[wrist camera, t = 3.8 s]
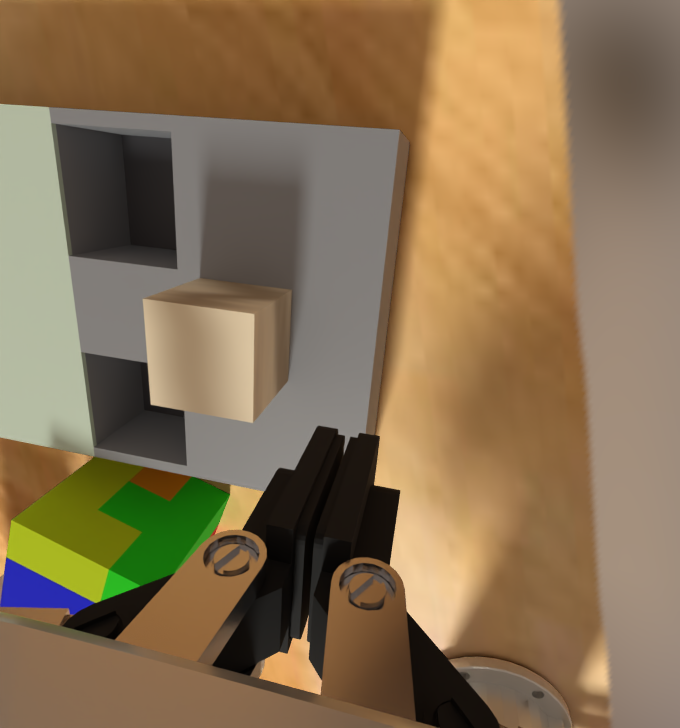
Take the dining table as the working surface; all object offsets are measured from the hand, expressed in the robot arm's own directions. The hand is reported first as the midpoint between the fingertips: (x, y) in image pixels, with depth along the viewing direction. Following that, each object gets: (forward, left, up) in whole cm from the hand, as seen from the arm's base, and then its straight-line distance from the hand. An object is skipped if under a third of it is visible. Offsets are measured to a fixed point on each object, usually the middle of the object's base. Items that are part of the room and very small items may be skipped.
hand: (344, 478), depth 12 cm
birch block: (+8, 0, -12) cm, 14 cm away
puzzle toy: (+18, +19, -18) cm, 32 cm away
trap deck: (+15, 0, -18) cm, 23 cm away
